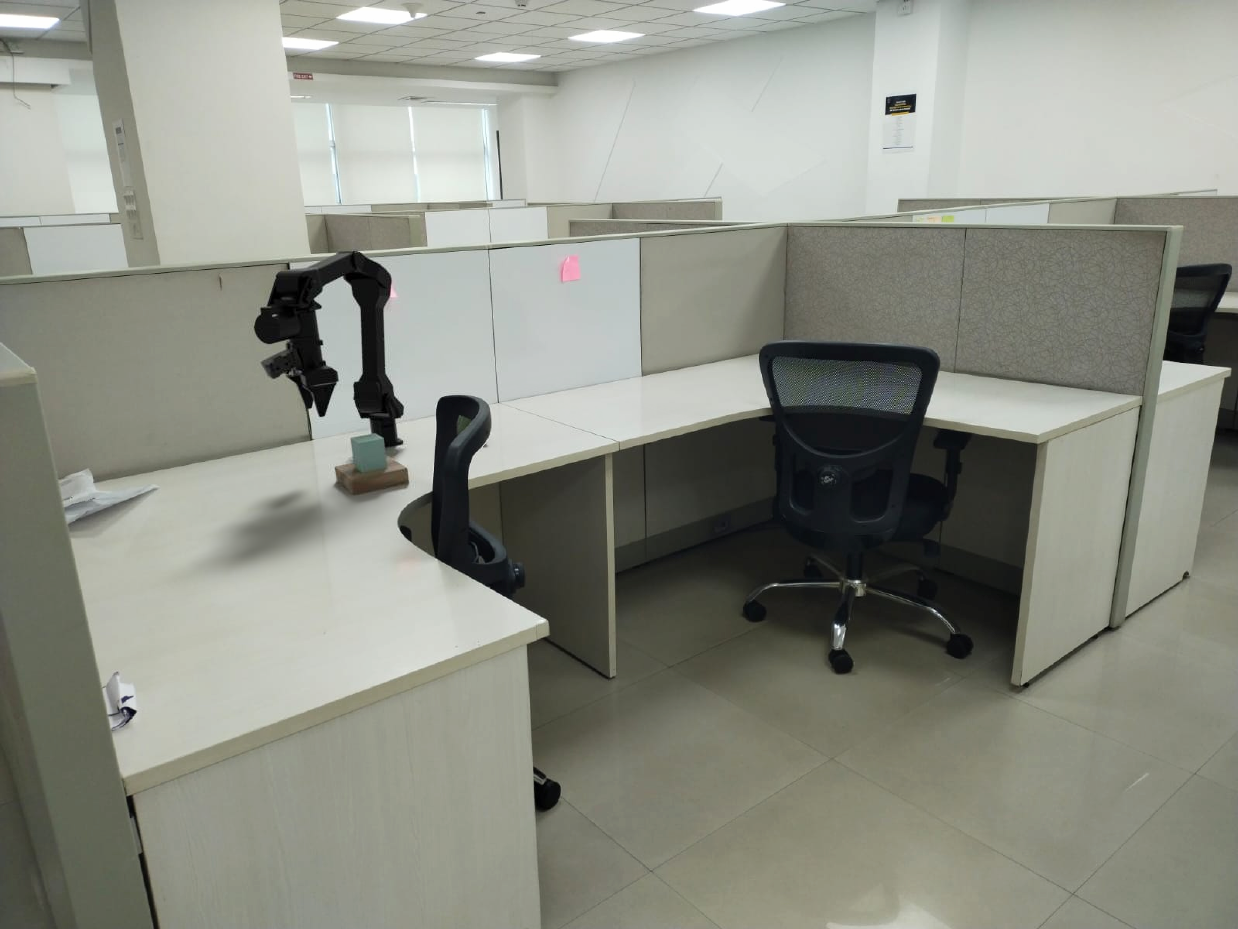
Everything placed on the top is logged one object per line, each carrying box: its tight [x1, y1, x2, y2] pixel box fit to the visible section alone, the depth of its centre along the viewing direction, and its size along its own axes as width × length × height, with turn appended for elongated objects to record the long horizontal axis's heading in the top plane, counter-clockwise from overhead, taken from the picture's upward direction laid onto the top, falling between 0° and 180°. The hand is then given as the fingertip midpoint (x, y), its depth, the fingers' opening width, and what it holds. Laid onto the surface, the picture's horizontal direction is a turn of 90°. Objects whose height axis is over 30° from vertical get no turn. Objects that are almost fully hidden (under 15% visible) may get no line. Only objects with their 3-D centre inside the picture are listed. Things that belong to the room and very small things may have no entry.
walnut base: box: [334, 455, 410, 496], centre depth 174 cm, size 11×11×3 cm
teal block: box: [350, 433, 387, 473], centre depth 173 cm, size 5×5×6 cm
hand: (315, 412), depth 177 cm, fingers open, 9 cm apart
